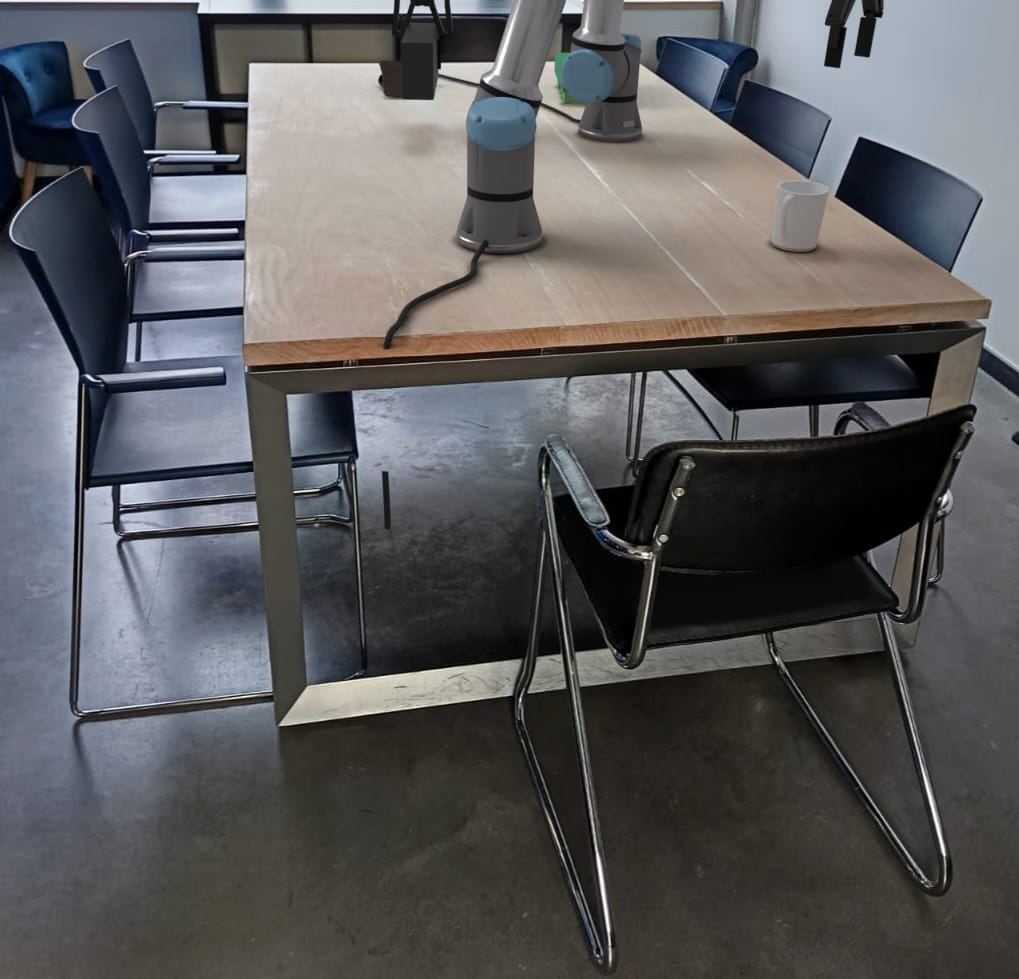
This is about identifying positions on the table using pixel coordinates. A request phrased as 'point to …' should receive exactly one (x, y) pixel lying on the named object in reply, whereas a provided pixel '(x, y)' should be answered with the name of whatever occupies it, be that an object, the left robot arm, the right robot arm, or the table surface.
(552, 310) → the table surface
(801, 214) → the mug
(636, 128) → the right robot arm
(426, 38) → the box
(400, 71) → the axe head
